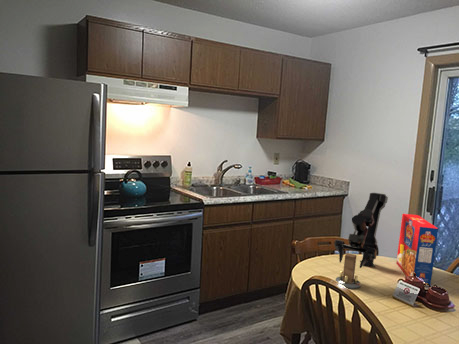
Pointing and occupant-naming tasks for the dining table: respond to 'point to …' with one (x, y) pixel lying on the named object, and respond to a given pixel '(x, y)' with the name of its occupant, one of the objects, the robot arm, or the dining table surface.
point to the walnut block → (349, 267)
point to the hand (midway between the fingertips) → (349, 264)
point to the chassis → (353, 285)
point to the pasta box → (417, 247)
